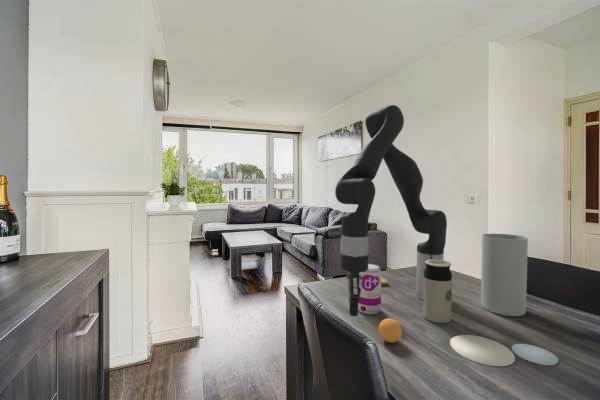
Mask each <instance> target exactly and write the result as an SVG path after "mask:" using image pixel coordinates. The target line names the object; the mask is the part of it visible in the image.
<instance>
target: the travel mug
mask: <svg viewBox="0 0 600 400" xmlns="http://www.w3.org/2000/svg"><path fill="white" fill-rule="evenodd" d="M425 263H426V268H425V270H424V300H423V309H422V311H423V317H424V318H425V319H426V320H428V321H429V322H432V323H436V324H448V323H450V322H451V321H452V293H453V291H452V290H453V289H452V286H453V285H452V284H453V283H452V280H453V279H452V278H453V277H452V276H453V273H452V272H451V270H450V269H451V266H452V263H451V262H449V261H448V260H447V261H446V260H444V261H443V260H426V261H425Z"/></svg>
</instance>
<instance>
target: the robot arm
mask: <svg viewBox="0 0 600 400" xmlns="http://www.w3.org/2000/svg"><path fill="white" fill-rule="evenodd" d="M364 121H365V122H364V124H365V128H366V130H367V133H368V134H369V137H370V140H369V141H367V143H366V144H365V145H364V146H363V147H362V148H361V149H360V151H359V153H358V154H357V156H356V159H355V161H354V163H353V165H352V166H351V167H349V169H348V170H347V171H345V173H344V174H343V175H342V176H341V177H340V179H339V180H338V182H337V184H336V186H335V190H334V194H335V197H336V200H337V201H338V203H341V204H343V205H357V207H356V209H355V211H354V212H349V213H345V214H343V215H342V216H341V237H340V248H339V249H340V253H339V254H340V258H339V261H340V263H339V267H340V269H341V270H342V271H344V272H349V273H348V274H346V284H347V285H346V286H347V294H348V301H349V302H348V303H349V305H348V306H349V307H348V308H349V312H348V313H349V316H351V317H358V315H359V310H358V303H359V302H360V294H361V285H362V278H361V275H359V273H360V272H365V271H367V270H368V264H369V246H370V245H369V236H368V235H369V226H368V225H369V218H370V213H371V210H372V206H373V203H374V200H375V196H376V186H375V184H374V182H373V180H374V179H375V178H376V177H377V174H378V171H379V169H380V166H381V163H382V161H384V163H385V165H386V167H387V169H388V171H389V173H390V176H391V178H392V181H393V182H394V184H395V186H396V188H397V190H398V191H399V194H400V196H401V198H402V201H403V203H404V205H405V208H406V211H407V214H408V217H409V219H410V222H411V226H412V227H413V228H414V230H415V231H416V232H418V233H419V234H423V235H424V234H426V235H428V239H427V240H426V241H424V242H420V243H418V244H417V245H416V294H415V296H416V297H417V298H418V299H420V300H423V301H424V270H425V268H426V263H425V261H426V260H443V261H445V260H444V257H445V256H444V255H445V247H446V242H447V241H446V240H447V230H448V229H447V226H448V224H447V223H448V222H447V215H446V214H445V212H443V211H442V210H439V209H438V210H437V209H425V207H424V205H423V203H422V201H421V192H422V189H423V183H424V178H423V176H422V173H421V171H420V169H419V167H418V164H417V162H416V161H415V160H414V159H413V158H412V157H411V156H409V155H407V154H406V153H404V152H403V151H401V150H400V149H399V148H397V147H396V146H395V144H393V143H394V142H395V140H396V138H397V137H398V136H399V134H400V133H401V132H402V130H403V128H404V123H405V118H404V114H403V111H402V110H401V108H400V107H399V106H397V105H395V104H393V105H392V104H391V105H388V106H384V107H382V108H380V109H376V110H374V111H372V112H370V113H368V114H367V115H366V116H365V119H364Z"/></svg>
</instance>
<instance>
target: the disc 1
mask: <svg viewBox="0 0 600 400" xmlns="http://www.w3.org/2000/svg"><path fill="white" fill-rule="evenodd" d="M449 344H450V347H451V348H452V350H453V351H455V352H456V353H457V354H458V355H460V356H461V357H463V358H465V359H467V360H469V361H472V362H474V363H478V364H481V365H485V366H492V367H506V366H507V367H508V366H511V365H512V364H514V363H515V362H516V357H515V353H514V352H513V351H512V350H511V349H509V348H508V347H506V346H505V345H503V344H502V343H499V342H498V341H496V340H493V339H490V338H486V337H483V336H480V335H479V336H478V335H471V334H459V335H455V336H453V337H452V338H450V340H449Z"/></svg>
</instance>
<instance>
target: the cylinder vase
mask: <svg viewBox="0 0 600 400" xmlns="http://www.w3.org/2000/svg"><path fill="white" fill-rule="evenodd" d="M481 236H482V238H481V275H480V276H481V278H480V279H481V280H480V281H481V286H480V288H481V289H480V290H481V291H480V304H481V307H483V309H485V310H486V311H488V312H491V313H493V314H497V315H500V316H506V317H522V316H525V314H526V312H527V290H528V289H527V287H528V285H527V284H528V251H529V250H528V248H529V247H528V246H529V245H528V243H529V239H528V237H526V236H523V235H516V234H509V233H508V234H506V233H484V234H483V233H482V235H481Z"/></svg>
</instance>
